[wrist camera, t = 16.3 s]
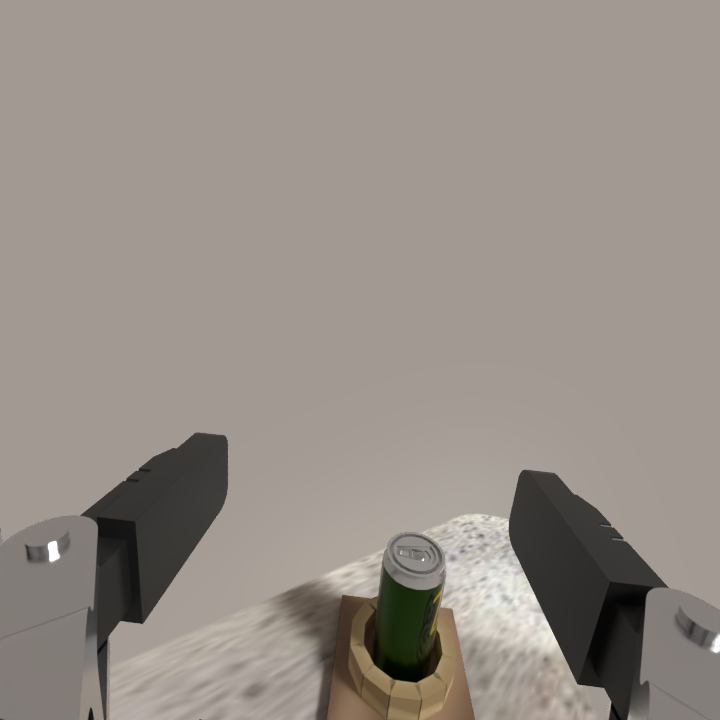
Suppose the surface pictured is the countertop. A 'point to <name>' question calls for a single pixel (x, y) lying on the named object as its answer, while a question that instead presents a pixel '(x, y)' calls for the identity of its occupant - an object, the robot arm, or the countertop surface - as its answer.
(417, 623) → the beer can
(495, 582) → the countertop surface
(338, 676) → the socket board
